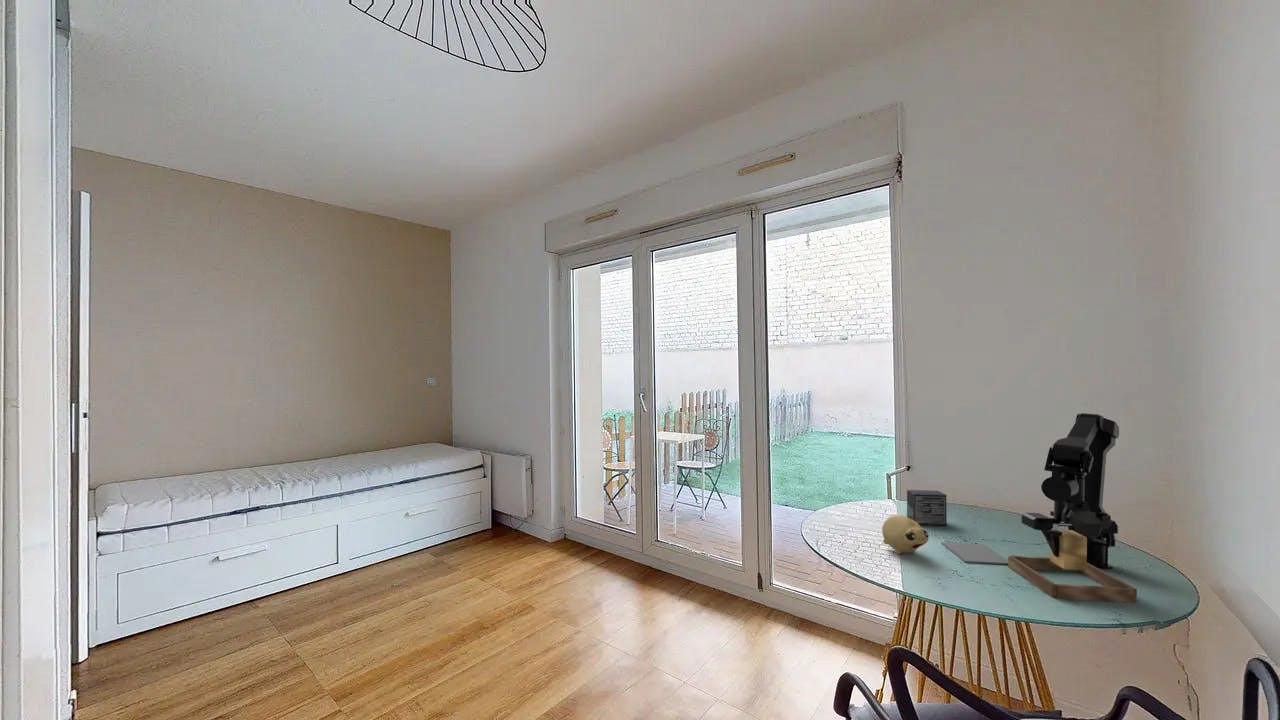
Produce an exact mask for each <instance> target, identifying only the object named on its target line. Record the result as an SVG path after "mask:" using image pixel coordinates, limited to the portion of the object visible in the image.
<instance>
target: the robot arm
mask: <svg viewBox="0 0 1280 720" xmlns="http://www.w3.org/2000/svg"><path fill="white" fill-rule="evenodd" d="M1119 436H1120V427H1119V425H1118V423H1117V422H1116V421H1114V420H1111V419H1108V418H1105V416H1103V415H1100V414H1097V413H1083V412H1080V413H1077V414H1076V417H1075V421H1074V424H1073V426H1072V427H1071V429H1070V430H1069V433H1068V434H1067V436H1066V437H1064V438H1060V439H1057V440H1056V441H1055V442H1054V443H1053V444H1052V446H1050V447H1049V449H1048V452H1047V458H1046V461H1045V465H1044V471H1045V472H1051V476H1050V477H1047V478H1045V479H1044V480H1043V481H1042V482H1041V485H1040V487H1041V492H1042V493H1043V495H1044V496H1045V497H1047V498H1048V499H1049V500H1050V501H1053V510H1050V513H1049V515H1050V516H1052V517H1048V516H1046V515H1044V514H1042V513H1040V512H1024V513H1023V514H1022V515H1021V524H1023V525H1025V526H1027V527H1029V528H1031V529H1033V530H1036V531H1041V533H1042V535H1043V536H1044V538H1045V540H1046V541H1047V543H1048V546H1049V548H1051V550H1052V552H1053V554H1054V556H1056V557H1059V537H1060V536H1061V535H1062V534H1063V533H1062V532H1060V531H1058V530H1059V527H1067V528H1068V529H1067V530H1072V531H1074V532H1077V533H1079V534H1081V535H1083V536H1085V537H1087V563H1089V564H1091V565H1093V566H1095V567H1097V568H1098V569H1110V570H1111V569H1113V566H1112V565H1110V564H1109V548H1111V547H1112V548H1114V547H1115V548H1116V535H1118V534H1119V525H1118V524H1117V522H1116V521H1115V520H1112V517H1111V515H1110V514H1109V513H1107V512H1106V510H1105V509H1104V507H1103V500H1104V490H1105V476H1106V465H1107V462H1106V461H1107V454H1108V453H1109V452H1110V451H1111V449H1113V448H1114V447H1115V446H1116V439H1118V438H1119ZM1115 534H1116V535H1115Z"/></svg>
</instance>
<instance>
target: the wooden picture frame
mask: <svg viewBox="0 0 1280 720" xmlns="http://www.w3.org/2000/svg"><path fill="white" fill-rule="evenodd" d="M1007 560H1008V565H1007V566H1008V568H1009V569H1010V570H1012V571H1013V572H1015V573H1016V574H1017V575H1019V576H1020V577H1022V578H1023V579H1025V580H1026V581H1028V582H1029V583H1030V584H1031V585H1033V586H1035V587H1036V588H1038V589H1039V590H1041V591H1042V592H1044V593H1045V594H1046V595H1048V596H1049V597H1051V598H1057V599H1061V600H1062V599H1063V600H1076V599H1077V601H1093V600H1095V602H1096V601H1098V602H1113V603H1114V602H1115V603H1129V604H1134V603H1137V601H1138V600H1137V597H1138V596H1137V595H1138V591H1137V590H1138V589H1137V588H1135V587H1134V586H1132V585H1131V584H1128V583H1126V582H1125V581H1122V580H1121V579H1119V578H1118V577H1115V576H1113V575H1111V574H1109V573H1108V572H1105V570H1102V569H1101V568H1097V567H1095V566H1093V565H1091V564H1089V563H1087V564H1086V570H1074V569H1063V568H1062V567H1060V566H1058V565H1056V564H1055V563H1053V562H1051V561H1050V556H1032V555H1012V554H1011V555H1008V557H1007ZM1036 570H1041V571H1043V570H1044V571H1045V570H1046V571H1059V572H1061V571H1062V572H1064V571H1065V572H1078V571H1079V572H1078V573H1081V574H1082V573H1083V575H1085V576H1086V577H1088V578H1090V579H1091V580H1093V581H1094V582H1096V583H1099V584H1100V585H1102V586H1100V585H1099V586H1098V585H1083V584H1066V583H1065V584H1064V583H1055V582H1053V581H1051V580H1050V579H1048V578H1046V576H1044V575H1042V574H1041V573H1039V572H1038V571H1036ZM1078 599H1080V600H1078Z"/></svg>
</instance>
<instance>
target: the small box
mask: <svg viewBox="0 0 1280 720" xmlns="http://www.w3.org/2000/svg"><path fill="white" fill-rule="evenodd" d="M947 497H948V496H947V494H945V493H943V492H942V491H940V490H926V489H925V490H924V489H922V490H921V489H907V490H906V517H907V518H909V519H912V520H914V521H915V522H917V523H918V524H919V526H934V527H935V526H936V527H941V526H942V527H946V526H948V524H947Z"/></svg>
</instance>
